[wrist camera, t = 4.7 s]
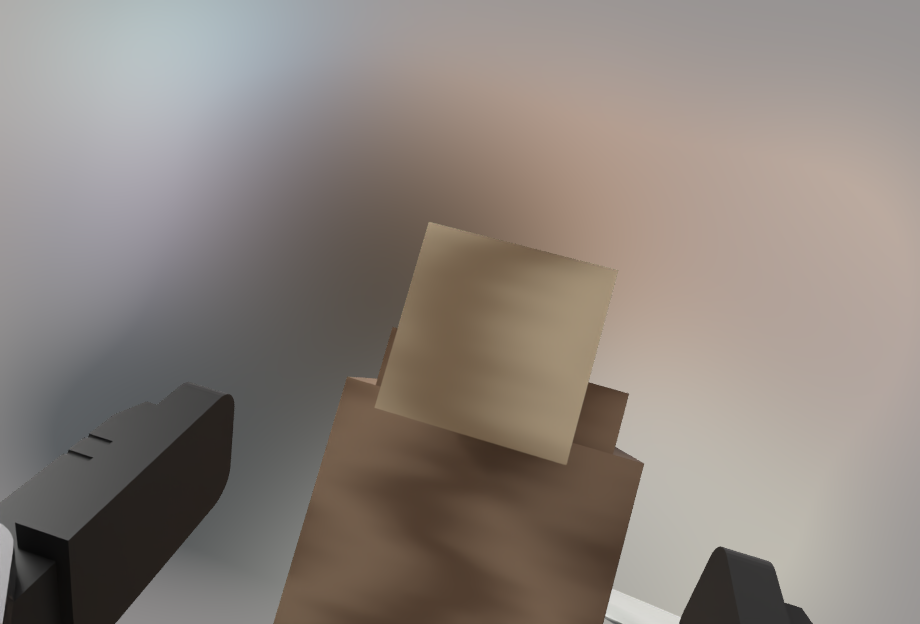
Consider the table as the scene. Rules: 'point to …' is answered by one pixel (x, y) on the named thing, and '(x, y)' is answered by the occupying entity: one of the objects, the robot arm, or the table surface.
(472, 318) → the oak block
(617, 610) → the table surface
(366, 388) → the walnut stand
